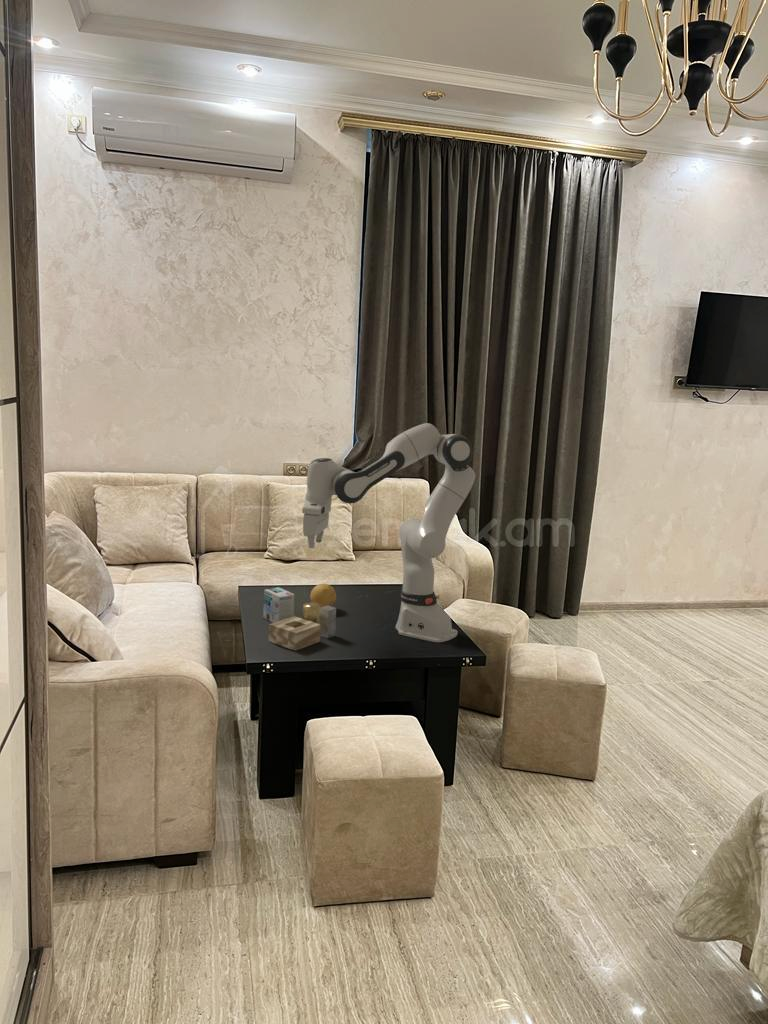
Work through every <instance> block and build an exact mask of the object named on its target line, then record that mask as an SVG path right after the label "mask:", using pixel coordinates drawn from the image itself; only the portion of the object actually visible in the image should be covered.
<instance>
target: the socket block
mask: <svg viewBox="0 0 768 1024" xmlns="http://www.w3.org/2000/svg"><path fill="white" fill-rule="evenodd" d="M320 640H321V636H320V624H317V623H314V622H311V621H308V620H305V619H303V618H301V617H298V616H295V615H294V616H293V617H290V618H287V619H284V620H281V621H278V622H275V623H272V622H271V623H270V624H268V642H269V643H272V644H275V645H278V646H280V647H284V648H287V649H289V650H293V651H298V650H300V649H301V650H302V649H304V648H306V647H309V646H311V645H315V644H317V643H319V642H320Z"/></svg>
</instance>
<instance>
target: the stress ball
mask: <svg viewBox="0 0 768 1024" xmlns="http://www.w3.org/2000/svg"><path fill="white" fill-rule="evenodd" d="M309 597H310V603H317V604H320V608H321V607H324V606H327V605H328V606H331V607H334V604H335V602H336V601H337V592H336V590H335V588H334V587H333V586H332V585H330V584H327V583H319V584H317V585H316V586H314V587H313V588H312V590H311V592H310V595H309Z"/></svg>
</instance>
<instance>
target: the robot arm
mask: <svg viewBox="0 0 768 1024" xmlns="http://www.w3.org/2000/svg"><path fill="white" fill-rule="evenodd" d="M473 449H474V448H473V445H472V442H471V441H470V440H469V439H468V437H465V435H461V434H455V433H449V434H446V433H445V434H444V433H443V434H441V433H440V432H439V430H438V428H437V427H436V426H435V425H434V424H431V423H430V422H429V423H428V422H425V423H421V424H419V425H416V426H414V427H411V428H409V429H407V430H405V431H402V432H401V433H399V434H398V435H396V436H395V437H394V438H392V439H391V440H390V441H389V442H387V444H386V446H385V450H384V452H383V455H382V456H381V457H380V458H379V459H378V460H377V461H375V462H373V463H371V464H370V465H368V466H367V467H365V468H364V469H362V470H359V471H357V472H355V471H353V470H351V469H348V468H346V467H343V466H342V465H339V464H338V463H337V462H335V461H334V460H333V459H332V458H328V457H322V458H321V457H320V458H316V459H313V460H311V461H310V463H309V465H308V468H307V476H306V487H307V489H306V493H305V501H304V505H302V509H301V510H302V511H301V512H302V514H303V517H302V533H303V536H304V537H307V542H308V548H309V549H314V548H315V546H316V543H317V544H320V543H322V542H323V536H324V532H325V530H326V529H328V527H329V520H330V519H329V518H330V516H329V515H330V512H332V500H333V499H332V497H333V496H336V497H337V498H338V499H339V500H340V501H341V502H343V503H345V504H356V503H357V502H359V501H361V500H362V499H363V498H364V497H365V495H366V494H367V492H368V491H369V490H370V489H371V488H372V487H374V486H375V485H377V484H378V483H380V482H382V481H383V480H385V479H386V478H388V477H390V476H391V475H392V474H394V473H396V472H398V471H400V470H402V469H404V468H406V467H408V466H410V465H412V464H415V463H416V462H418V461H419V460H421V459H423V458H424V457H427V456H431V457H432V458H433V459H434V460H435V461H436V462H437V463H439V464H442V465H444V473H443V475H442V477H441V479H439V481H438V483H437V485H436V486H435V488H434V489H433V491H432V492H431V494H430V495H429V497H428V498H427V500H426V501H425V502H426V503H425V509H424V513H423V515H422V517H421V519H415V518H411V519H410V518H409V519H407V520H404V521H403V522H402V523H401V525H400V526H399V528H398V537H399V540H400V549H401V556H402V565H403V573H402V588H401V591H400V609H399V614H398V618H397V622H396V624H395V629H396V630H397V631H398V635H399V636H400V635H401V636H405V637H409V638H415V639H419V640H424V641H428V642H433V643H444V642H447V641H450V640H452V639H454V638H456V637H457V636H458V630H457V629H454V628H452V627H453V626H452V619H451V616H450V615H449V614H448V613H447V612H446V611H445V610H444V609H443V608H442V606H440V605H439V604H438V600H439V599H440V595H439V594H438V595H436V594H435V591H434V587H435V567H434V565H433V559H434V558H438V557H439V556H441V555H442V554H443V553H444V551H445V549H446V538H447V535H448V532H449V528H450V526H451V524H452V522H453V519H454V517H455V516H456V514H457V513H458V511H459V510H460V508H461V506H462V505H463V503H464V502H465V500H466V498H467V497H468V495H469V494H470V491H471V490H472V487H473V485H474V483H475V480H476V472H475V471H474V469H473V468H472V467H471V465H472V458H473V454H474V453H473V452H474V450H473Z"/></svg>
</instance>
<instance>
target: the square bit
mask: <svg viewBox="0 0 768 1024" xmlns="http://www.w3.org/2000/svg"><path fill="white" fill-rule="evenodd" d="M336 617H337V607H334V606H332V607H331V606H328V605H327V606H324V607H321V608H320V612H319V624H320V638H321V637H322V638H323V639H329V638H333V637H335V636H336V623H337V622H336V620H337V618H336Z"/></svg>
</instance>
